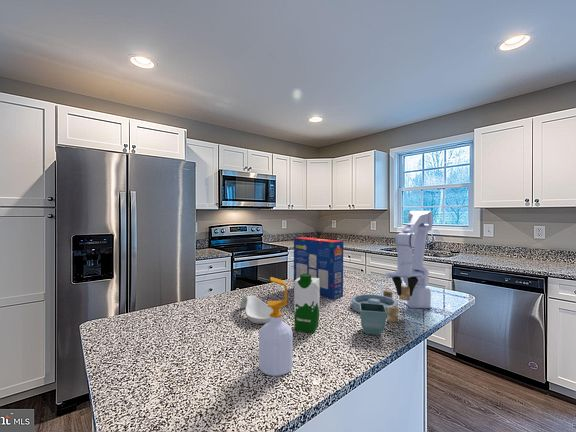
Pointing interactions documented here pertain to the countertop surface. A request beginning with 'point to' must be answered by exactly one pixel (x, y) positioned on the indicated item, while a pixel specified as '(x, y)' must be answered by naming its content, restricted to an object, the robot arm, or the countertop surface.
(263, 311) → the spoon rest
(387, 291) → the bead
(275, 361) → the soap bottle
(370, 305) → the flower pot
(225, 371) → the countertop surface
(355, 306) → the ring tray
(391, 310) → the bead
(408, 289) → the bead
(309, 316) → the milk carton
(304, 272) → the pasta box
